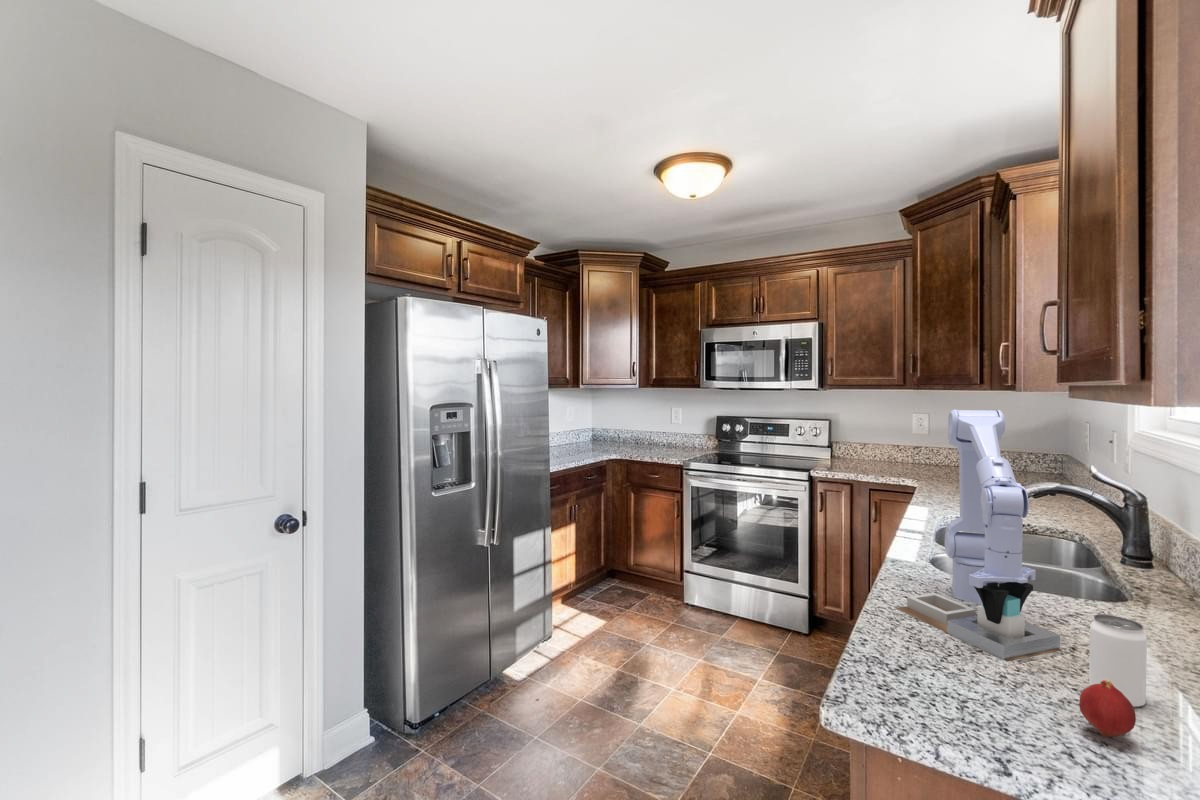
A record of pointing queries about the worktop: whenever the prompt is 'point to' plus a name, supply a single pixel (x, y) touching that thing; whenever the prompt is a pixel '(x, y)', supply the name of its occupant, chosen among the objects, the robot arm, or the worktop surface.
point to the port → (1003, 638)
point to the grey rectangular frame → (953, 608)
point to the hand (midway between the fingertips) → (1002, 620)
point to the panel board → (944, 628)
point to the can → (1119, 656)
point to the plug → (1005, 619)
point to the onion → (1107, 709)
